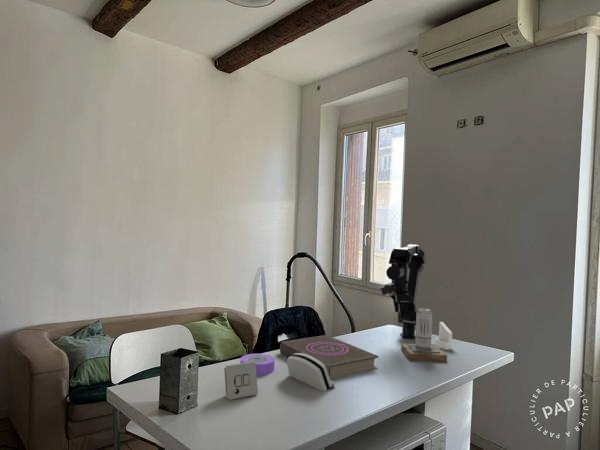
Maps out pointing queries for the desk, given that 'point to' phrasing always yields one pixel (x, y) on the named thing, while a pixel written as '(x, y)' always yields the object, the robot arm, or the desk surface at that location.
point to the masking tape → (260, 362)
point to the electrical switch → (241, 380)
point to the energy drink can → (423, 328)
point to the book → (332, 354)
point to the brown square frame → (423, 353)
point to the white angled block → (444, 337)
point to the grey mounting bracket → (309, 371)
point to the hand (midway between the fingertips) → (398, 314)
